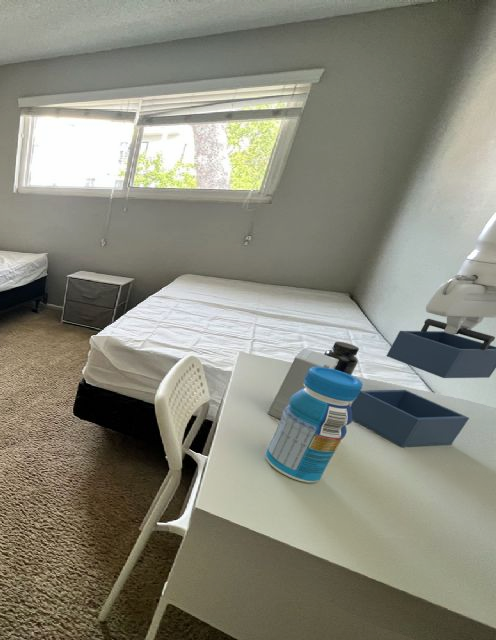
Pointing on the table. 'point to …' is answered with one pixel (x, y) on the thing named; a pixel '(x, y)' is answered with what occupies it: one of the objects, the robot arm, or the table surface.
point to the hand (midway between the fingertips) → (455, 333)
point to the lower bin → (407, 418)
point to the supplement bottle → (344, 356)
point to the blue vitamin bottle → (313, 424)
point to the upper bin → (446, 352)
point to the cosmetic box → (298, 378)
